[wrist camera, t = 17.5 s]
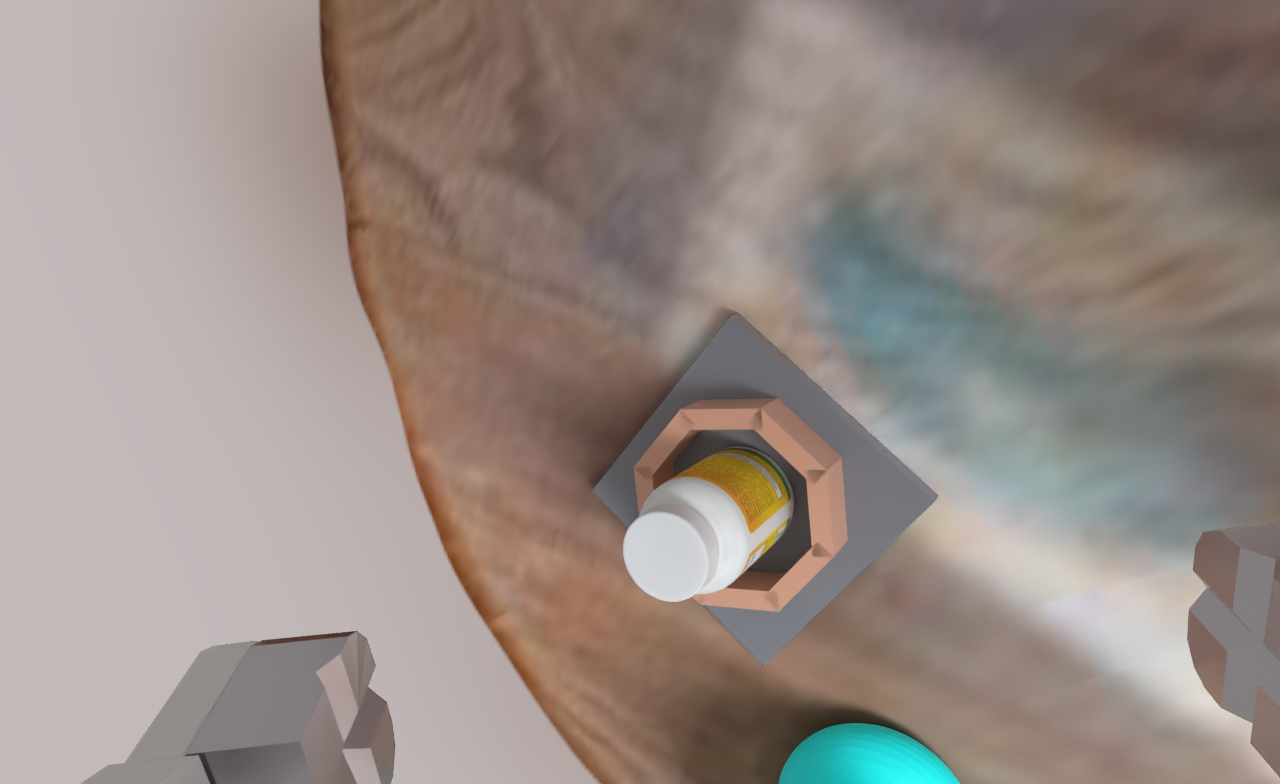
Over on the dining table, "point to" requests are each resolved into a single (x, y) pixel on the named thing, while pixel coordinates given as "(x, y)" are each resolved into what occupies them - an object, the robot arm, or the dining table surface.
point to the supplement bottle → (708, 524)
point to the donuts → (863, 758)
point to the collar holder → (810, 458)
